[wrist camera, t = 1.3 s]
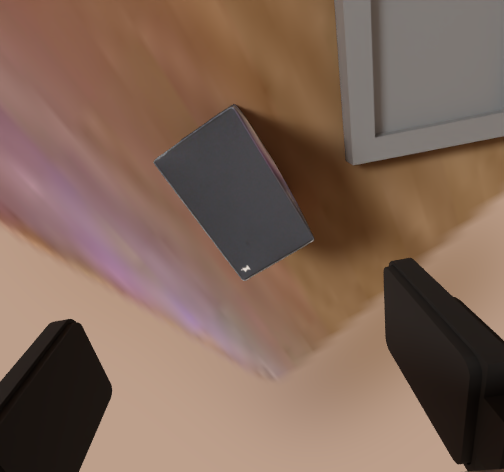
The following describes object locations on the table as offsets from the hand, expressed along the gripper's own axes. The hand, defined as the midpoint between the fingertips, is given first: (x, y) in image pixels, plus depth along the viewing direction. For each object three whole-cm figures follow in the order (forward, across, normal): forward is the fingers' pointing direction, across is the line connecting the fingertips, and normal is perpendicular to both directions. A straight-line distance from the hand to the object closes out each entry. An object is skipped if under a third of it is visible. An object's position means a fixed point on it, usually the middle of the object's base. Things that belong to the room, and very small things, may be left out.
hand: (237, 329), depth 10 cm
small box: (+23, 0, 0) cm, 23 cm away
